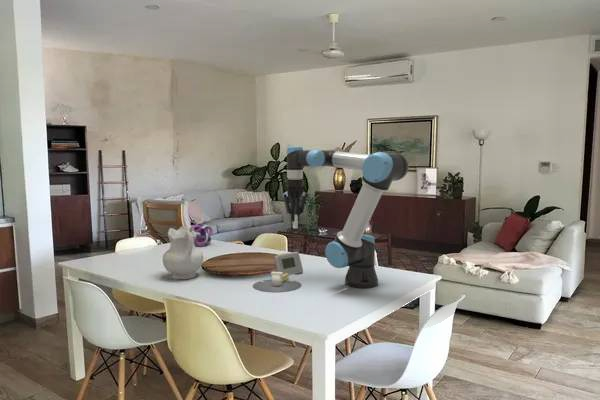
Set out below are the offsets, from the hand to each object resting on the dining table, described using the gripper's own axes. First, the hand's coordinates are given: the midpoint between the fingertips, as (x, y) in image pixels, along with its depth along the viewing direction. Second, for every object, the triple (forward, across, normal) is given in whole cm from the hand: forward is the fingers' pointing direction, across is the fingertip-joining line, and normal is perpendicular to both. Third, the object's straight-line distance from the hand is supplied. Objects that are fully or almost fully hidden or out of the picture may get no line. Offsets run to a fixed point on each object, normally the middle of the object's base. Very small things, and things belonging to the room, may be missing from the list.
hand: (295, 228), depth 221 cm
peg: (+23, +10, +8) cm, 27 cm away
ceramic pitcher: (+25, +48, -25) cm, 60 cm away
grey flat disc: (+24, +14, +11) cm, 30 cm away
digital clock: (+25, 0, -7) cm, 26 cm away
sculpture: (+25, +23, -104) cm, 109 cm away
